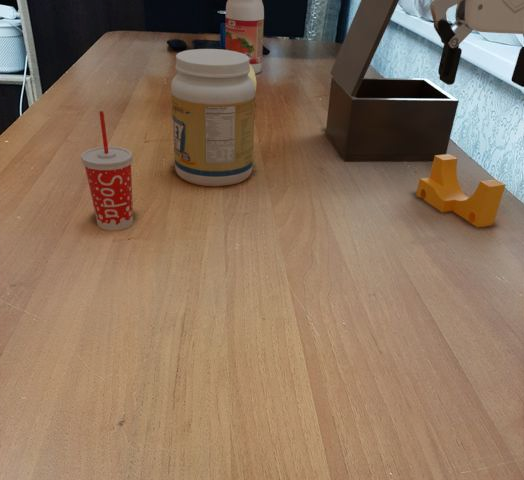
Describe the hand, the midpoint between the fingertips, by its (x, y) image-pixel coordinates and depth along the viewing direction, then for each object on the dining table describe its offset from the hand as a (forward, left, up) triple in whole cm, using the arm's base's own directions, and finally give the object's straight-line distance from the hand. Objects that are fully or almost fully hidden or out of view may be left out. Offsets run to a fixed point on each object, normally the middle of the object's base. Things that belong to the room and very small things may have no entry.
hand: (482, 83), depth 71 cm
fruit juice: (+21, -88, -18) cm, 92 cm away
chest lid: (+7, -29, +2) cm, 30 cm away
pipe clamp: (0, 0, -18) cm, 18 cm away
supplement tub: (+33, -16, -18) cm, 40 cm away
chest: (+1, -29, -17) cm, 34 cm away
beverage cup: (+47, +1, -18) cm, 50 cm away
